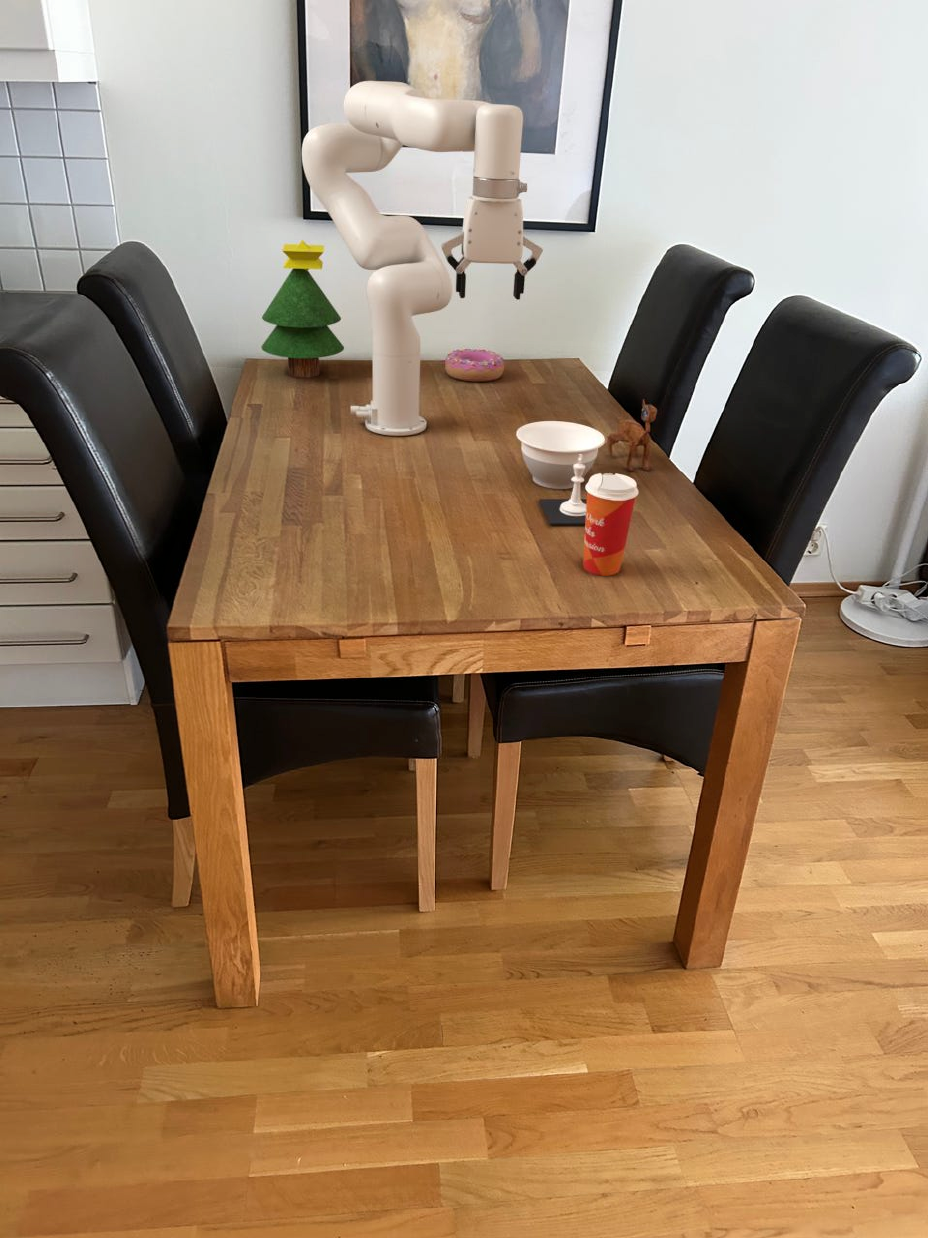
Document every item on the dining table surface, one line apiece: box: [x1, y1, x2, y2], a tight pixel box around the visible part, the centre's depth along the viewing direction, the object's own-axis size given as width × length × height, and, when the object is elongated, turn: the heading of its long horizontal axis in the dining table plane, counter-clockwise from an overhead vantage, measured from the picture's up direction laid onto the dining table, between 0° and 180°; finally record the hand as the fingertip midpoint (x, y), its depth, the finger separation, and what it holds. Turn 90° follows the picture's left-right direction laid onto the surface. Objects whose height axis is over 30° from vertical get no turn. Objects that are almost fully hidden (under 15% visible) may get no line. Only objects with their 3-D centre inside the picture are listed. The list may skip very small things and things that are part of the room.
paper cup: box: [582, 472, 639, 577], centre depth 138 cm, size 8×8×14 cm
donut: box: [444, 348, 505, 383], centre depth 227 cm, size 14×14×5 cm
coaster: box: [539, 498, 587, 527], centre depth 159 cm, size 10×10×1 cm
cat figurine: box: [606, 398, 658, 472], centre depth 180 cm, size 18×7×14 cm, turn 15°
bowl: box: [516, 420, 606, 490], centre depth 170 cm, size 16×16×9 cm
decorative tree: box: [261, 239, 345, 378], centre depth 216 cm, size 19×19×30 cm
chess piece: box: [560, 454, 586, 516], centre depth 156 cm, size 5×5×10 cm
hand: (489, 297), depth 163 cm, fingers open, 9 cm apart
